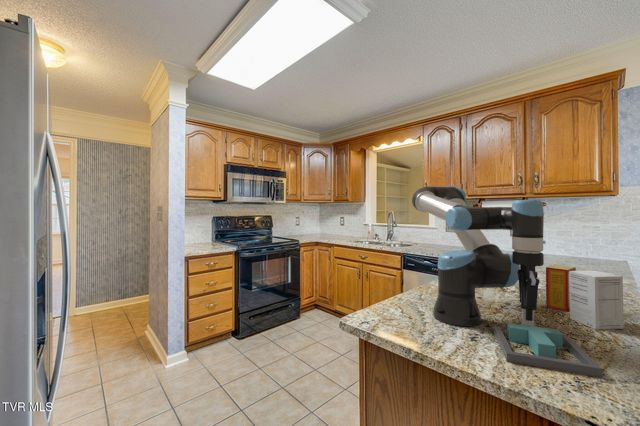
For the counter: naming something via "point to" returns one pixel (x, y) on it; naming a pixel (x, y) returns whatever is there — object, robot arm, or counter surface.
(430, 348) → the counter surface
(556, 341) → the t block
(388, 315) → the counter surface
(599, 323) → the supplement box
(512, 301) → the counter surface
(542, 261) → the robot arm
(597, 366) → the frame
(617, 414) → the counter surface
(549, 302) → the baking soda box
